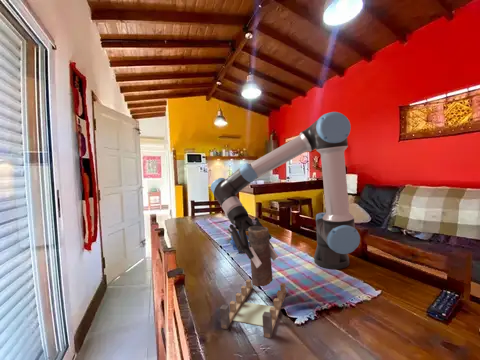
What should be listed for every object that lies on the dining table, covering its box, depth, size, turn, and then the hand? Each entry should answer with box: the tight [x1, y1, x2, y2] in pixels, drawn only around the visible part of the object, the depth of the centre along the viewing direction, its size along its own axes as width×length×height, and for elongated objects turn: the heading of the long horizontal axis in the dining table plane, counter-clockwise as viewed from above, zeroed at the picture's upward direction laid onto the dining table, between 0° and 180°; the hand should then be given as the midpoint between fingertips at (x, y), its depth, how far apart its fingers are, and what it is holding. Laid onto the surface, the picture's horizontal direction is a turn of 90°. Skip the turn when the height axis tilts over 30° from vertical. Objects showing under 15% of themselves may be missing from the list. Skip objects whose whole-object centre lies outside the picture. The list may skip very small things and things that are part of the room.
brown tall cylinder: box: [247, 226, 274, 288], centre depth 86 cm, size 8×7×20 cm
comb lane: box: [219, 279, 288, 339], centre depth 80 cm, size 15×24×6 cm, turn 158°
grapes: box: [229, 230, 249, 253], centre depth 132 cm, size 12×7×12 cm, turn 119°
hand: (267, 261), depth 83 cm, fingers closed on brown tall cylinder, 7 cm apart
